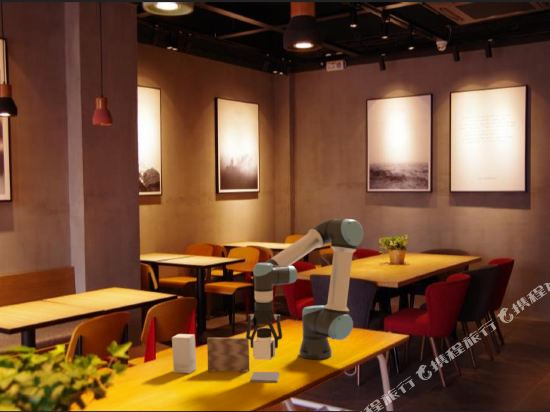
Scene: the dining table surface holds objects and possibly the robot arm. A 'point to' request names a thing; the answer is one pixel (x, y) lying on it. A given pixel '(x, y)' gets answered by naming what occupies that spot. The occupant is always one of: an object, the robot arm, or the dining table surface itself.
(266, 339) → the medicine bottle
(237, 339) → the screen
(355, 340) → the dining table surface
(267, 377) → the coaster
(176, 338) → the skincare box
